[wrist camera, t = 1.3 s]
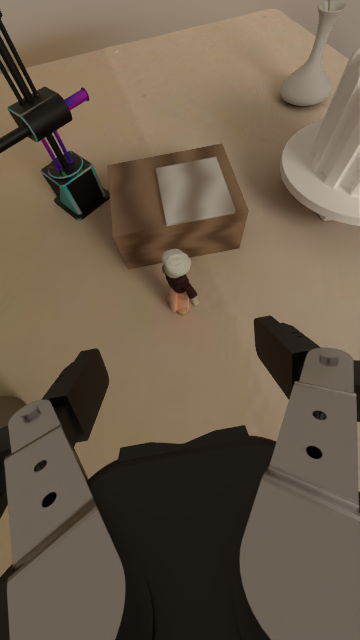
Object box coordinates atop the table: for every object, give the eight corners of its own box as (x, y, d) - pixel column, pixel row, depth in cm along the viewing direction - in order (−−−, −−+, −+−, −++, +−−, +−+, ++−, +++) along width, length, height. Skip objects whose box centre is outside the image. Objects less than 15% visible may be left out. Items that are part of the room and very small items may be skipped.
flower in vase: (334, 93, 55) (431, -135, 32) (313, 117, 52) (403, -114, 29) (285, 80, 59) (340, -132, 36) (262, 102, 56) (307, -113, 33)
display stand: (128, 268, 40) (110, 233, 32) (122, 204, 46) (106, 161, 38) (239, 248, 40) (249, 207, 32) (218, 186, 46) (222, 139, 38)
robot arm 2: (97, 170, 51) (17, -21, 29) (123, 187, 48) (58, -10, 26) (2, 238, 45) (-192, 66, 23) (26, 262, 43) (-169, 93, 20)
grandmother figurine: (156, 300, 37) (136, 248, 26) (171, 284, 38) (159, 228, 27) (191, 328, 35) (188, 285, 23) (207, 310, 36) (211, 261, 24)
